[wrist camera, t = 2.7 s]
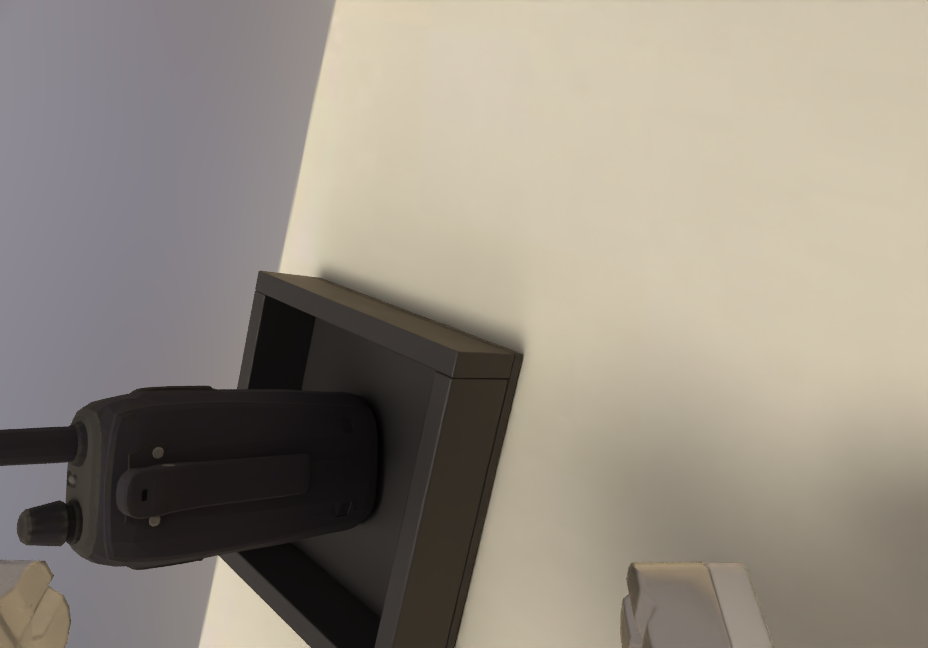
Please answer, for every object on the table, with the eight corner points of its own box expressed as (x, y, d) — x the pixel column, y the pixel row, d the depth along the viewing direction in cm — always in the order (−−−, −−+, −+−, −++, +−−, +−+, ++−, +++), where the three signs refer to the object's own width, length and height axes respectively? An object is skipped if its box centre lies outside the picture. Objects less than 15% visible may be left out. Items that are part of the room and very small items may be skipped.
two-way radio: (334, 383, 30) (-148, 382, 20) (409, 389, 27) (-117, 392, 16) (328, 525, 30) (-164, 603, 19) (403, 547, 27) (-134, 655, 16)
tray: (320, 277, 32) (258, 270, 30) (523, 354, 24) (458, 351, 22) (269, 535, 34) (207, 545, 32) (445, 688, 26) (377, 715, 24)
